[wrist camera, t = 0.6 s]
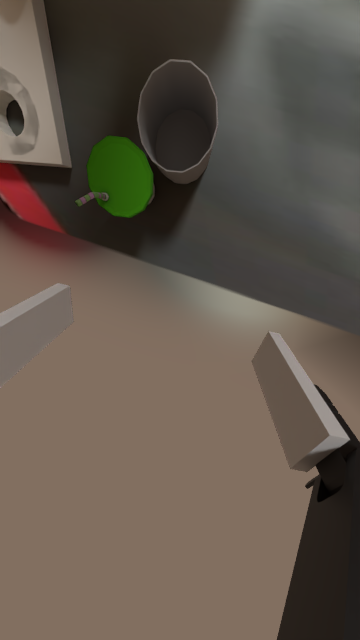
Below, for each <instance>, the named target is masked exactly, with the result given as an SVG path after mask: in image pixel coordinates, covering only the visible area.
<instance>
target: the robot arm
mask: <svg viewBox="0 0 360 640" xmlns="http://www.w3.org/2000/svg"><path fill="white" fill-rule="evenodd" d="M73 322H74V321H73V311H72V301H71V290H70V286H69V285H65V284H61V283H57V284H55V285H53V286H51V287H49V288H47V289H45V290H43V291H41V292H40V293H38V294H36V295H34V296H32V297H30V298H28V299H26V300H24V301H22V302H20V303H19V304H17V305H15V306H13V307H11V308H9V309H7V310H5V311H3V312H1V313H0V388H1V387H2V386H3V385H4V384H5V383H6V382H7V381H8V380H10V379H11V378H12V377H13V376H14V375H15V374H16V373H17V372H19V370H21V369H22V368H23V367H24V366H25V365H26V364H27V363H29V362H30V361H31V360H32V359H33V358H34V357H35V356H36V355H37V354H38V353H39V352H41V351H42V350H43V349H44V348H45V347H46V346H47V345H48V344H50V343H51V342H52V341H53V340H54V339H55V338H56V337H57V336H58V335H60V334H61V333H62V332H63V331H64V330H65V329H66V328H67V327H68V326H69V325H71V324H72V323H73ZM252 363H253V367H254V369H255V372H256V375H257V378H258V381H259V383H260V386H261V389H262V392H263V394H264V397H265V400H266V403H267V406H268V408H269V411H270V414H271V417H272V419H273V422H274V425H275V428H276V431H277V433H278V436H279V439H280V442H281V444H282V447H283V450H284V453H285V456H286V458H287V461H288V464H289V467H290V469H295V470H300V471H305V472H308V471H309V470H310V469H312V468H313V467H314V466H316V467H317V469H318V472H319V475H318V476H316V477H315V478H313V479H312V480H311V481H309V482H308V483H307V484H306V486H305V487H306V488H307V489H308V488H310V487H311V486H313V490H312V494H311V499H310V503H309V507H308V511H307V516H306V520H305V524H304V528H303V532H302V537H301V540H300V545H299V549H298V553H297V557H296V562H295V566H294V570H293V574H292V578H291V582H290V587H289V591H288V595H287V599H286V603H285V607H284V612H283V616H282V620H281V624H280V628H279V633H278V637H277V640H360V442H359V441H358V439H357V438H356V436H355V435H354V434H353V432H352V431H351V429H350V428H349V427H348V425H347V424H346V422H345V421H344V419H343V418H342V416H341V415H340V414H338V411H337V409H336V408H335V406H333V405H332V402H331V401H330V399H329V398H328V397H327V395H326V394H325V393H324V392H323V391H322V390H321V389H320V388H319V387H318V386H317V385H314V384H313V383H312V382H311V380H310V379H309V377H308V376H307V375H306V373H305V371H304V370H303V368H302V367H301V365H300V364H299V362H298V361H297V359H296V358H295V356H294V355H293V353H292V352H291V350H290V349H289V347H288V346H287V344H286V343H285V341H284V340H283V338H282V337H281V335H280V334H279V333H274V332H270V331H269V332H268V333H267V335H266V337H265V338H264V340H263V342H262V344H261V345H260V347H259V349H258V351H257V353H256V354H255V356H254V358H253V360H252Z"/></svg>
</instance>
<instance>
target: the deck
mask: <svg viewBox="0 0 360 640" xmlns="http://www.w3.org/2000/svg"><path fill="white" fill-rule="evenodd" d="M13 100H16V101H17V102H18V104H19V106H20V107H21V109H22V112H23V116H24V129H23V131H22V134H20V135H19V136H17V137H16V136H15V134H14V133H13V132H12V130H11V128H10V127H9V124H8V121H7V117H6V109H7V107H8V104H9V103H10V102H11V101H13ZM0 163H13V164H26V165H39V166H52V167H65V168H72V164H71V158H70V153H69V147H68V141H67V135H66V129H65V123H64V117H63V111H62V106H61V100H60V94H59V88H58V82H57V76H56V70H55V65H54V59H53V53H52V47H51V41H50V35H49V29H48V24H47V18H46V12H45V6H44V0H0Z"/></svg>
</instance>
